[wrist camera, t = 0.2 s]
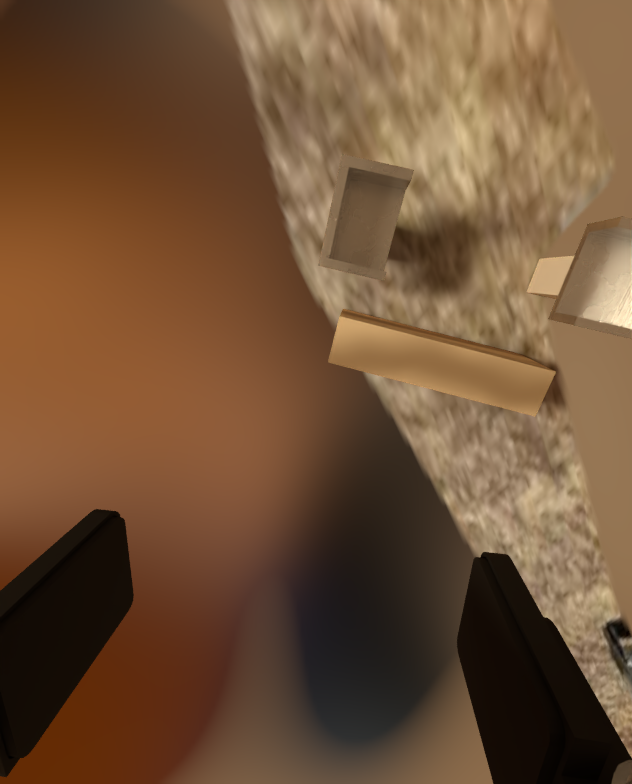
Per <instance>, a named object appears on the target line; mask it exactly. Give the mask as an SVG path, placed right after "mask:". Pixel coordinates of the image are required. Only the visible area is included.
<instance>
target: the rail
mask: <svg viewBox="0 0 632 784" xmlns="http://www.w3.org/2000/svg"><path fill="white" fill-rule="evenodd" d="M328 362H329V363H333V364H337V365H340V366H345V367H348V368H352V369H356V370H360V371H363V372H367V373H371V374H375V375H379V376H382V377H386V378H390V379H394V380H398V381H402V382H405V383H409V384H413V385H417V386H421V387H425V388H428V389H432V390H436V391H440V392H444V393H448V394H451V395H455V396H459V397H463V398H467V399H471V400H474V401H478V402H482V403H486V404H490V405H493V406H497V407H501V408H505V409H509V410H513V411H516V412H520V413H524V414H528V415H532V416H536V414H537V412H538V410H539V407H540V405H541V403H542V401H543V399H544V397H545V395H546V392H547V390H548V388H549V386H550V384H551V382H552V380H553V377H554V375H555V373H556V372H555V371H553V370H551V369H549V368H547V367H545V366H543V365H541V364H539V363H537V362H535V361H533V360H531V359H529V358H527V357H525V356H523V355H521V354H518V353H514V352H510V351H506V350H502V349H498V348H494V347H491V346H487V345H483V344H479V343H475V342H471V341H467V340H463V339H459V338H455V337H452V336H448V335H444V334H440V333H436V332H432V331H428V330H424V329H420V328H417V327H413V326H409V325H405V324H401V323H397V322H393V321H389V320H385V319H381V318H378V317H374V316H370V315H366V314H362V313H358V312H354V311H350V310H346V309H343V310H342V312H341V315H340V317H339V321H338V325H337V329H336V333H335V337H334V341H333V345H332V349H331V353H330V356H329V360H328Z"/></svg>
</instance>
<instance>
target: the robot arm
mask: <svg viewBox="0 0 632 784" xmlns="http://www.w3.org/2000/svg"><path fill="white" fill-rule="evenodd" d="M132 602H133V586H132V578H131V569H130V561H129V552H128V543H127V535H126V526H125V520H124V519H123V518H121V517H120V514H119V513H118V512H116V511H109V510H99V509H96V510H93V511H92V512H90V513H89V514H88V515H87V516H86V517H85V518H83V519H82V520H81V521H80V522H79V523H78V524H77V525H75V526H74V527H73V528H72V529H71V530H70V531H69V532H67V533H66V534H65V535H64V536H63V537H62V538H60V539H59V540H58V541H57V542H56V543H55V544H54V545H53V546H51V547H50V548H49V549H48V550H47V551H46V552H44V553H43V554H42V555H41V556H40V557H39V558H38V559H37V560H35V561H34V562H33V563H32V564H31V565H29V567H27V568H26V569H25V570H24V571H23V572H21V573H20V574H19V575H18V576H17V577H16V578H15V579H13V580H12V581H11V582H10V583H9V584H8V585H7V586H5V587H4V588H3V589H2V590H1V591H0V776H3V777H7V776H8V774H9V773H10V772H11V770H12V769H13V767H14V766H15V765H16V763H17V762H18V760H19V759H20V758H24V757H25V756H27V755H28V754H29V753H30V752H31V750H32V749H33V748H34V747H35V745H36V744H37V742H38V741H39V740H40V738H41V737H42V735H43V734H44V732H45V731H46V729H47V728H48V727H49V725H50V723H51V722H52V721H53V719H54V718H55V716H56V715H57V713H58V712H59V710H60V709H61V708H62V706H63V705H64V703H65V702H66V700H67V699H68V698H69V696H70V694H71V693H72V692H73V690H74V689H75V687H76V686H77V685H78V683H79V682H80V680H81V679H82V677H83V676H84V674H85V673H86V672H87V670H88V669H89V667H90V666H91V664H92V663H93V661H94V660H95V659H96V657H97V656H98V654H99V653H100V651H101V650H102V648H103V647H104V645H105V644H106V643H107V641H108V640H109V638H110V636H111V635H112V634H113V632H114V631H115V629H116V628H117V627H118V625H119V624H120V622H121V621H122V620H123V618H124V617H125V615H126V614H127V612H128V611H129V609H130V607H131V605H132ZM457 648H458V654H459V658H460V662H461V665H462V669H463V673H464V677H465V680H466V684H467V688H468V691H469V695H470V699H471V703H472V706H473V710H474V714H475V717H476V721H477V725H478V728H479V732H480V736H481V739H482V743H483V747H484V751H485V754H486V758H487V761H488V765H489V769H490V772H491V776H492V780H493V784H632V758H631V756H630V755H629V753H628V751H627V750H626V748H625V746H624V744H623V743H622V741H621V739H620V737H619V736H618V734H617V732H616V730H615V729H614V727H613V725H612V723H611V722H610V720H609V718H608V716H607V715H606V713H605V711H604V709H603V708H602V706H601V704H600V702H599V701H598V699H597V697H596V696H595V694H594V692H593V690H592V689H591V687H590V685H589V683H588V682H587V680H586V678H585V676H584V675H583V673H582V671H581V669H580V668H579V666H578V664H577V662H576V661H575V659H574V657H573V655H572V654H571V652H570V650H569V648H568V647H567V645H566V643H565V642H564V640H563V638H562V636H561V635H560V633H559V631H558V629H557V628H556V626H555V625H554V623H553V622H552V621H551V620H549V619H548V618H544V617H543V616H542V614H541V612H540V610H539V609H538V607H537V605H536V603H535V601H534V599H533V598H532V596H531V594H530V592H529V590H528V589H527V587H526V585H525V583H524V581H523V580H522V578H521V576H520V574H519V572H518V571H517V569H516V567H515V565H514V563H513V561H512V560H511V558H510V557H509V556H508V555H507V554H498V553H489V552H483V553H482V554H481V557H480V558H479V557H475V558H474V561H473V565H472V570H471V574H470V579H469V584H468V589H467V594H466V598H465V603H464V608H463V613H462V618H461V623H460V627H459V632H458V637H457Z"/></svg>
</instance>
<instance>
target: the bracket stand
mask: <svg viewBox="0 0 632 784" xmlns="http://www.w3.org/2000/svg"><path fill="white" fill-rule="evenodd" d="M413 171H414V170H412V169H407V168H403V167H398V166H394V165H389V164H385V163H380V162H376V161H371V160H367V159H362V158H358V157H353V156H349V155H344V154H342V157H341V162H340V166H339V171H338V176H337V180H336V185H335V190H334V195H333V199H332V204H331V209H330V213H329V218H328V223H327V228H326V232H325V237H324V242H323V246H322V251H321V256H320V261H319V265H318V266H322V267H327V268H331V269H335V270H339V271H344V272H348V273H352V274H357V275H361V276H365V277H369V278H374V279H378V280H382V281H384V279H385V275H386V272H385V271H384V269H385V265H386V261H387V258H388V254H389V250H390V246H391V243H392V239H393V235H394V231H395V228H396V224H397V220H398V216H399V213H400V209H401V205H402V201H403V198H404V194H405V190H406V189H407V187H408V185H409V183H410V181H411V179H412V175H413ZM527 292H528V293H532V294H536V295H541V296H545V297H549V298H554V299H556V301H555V304H554V306H553V308H552V311H551V313H550V316H549V318H548V319H549V320H553V321H557V322H562V323H566V324H570V325H574V326H579V327H583V328H587V329H591V330H596V331H600V332H604V333H609V334H613V335H617V336H622V337H626V338H630V339H632V219H631V218H627V217H623V216H622V217H617V218H613V219H608V220H604V221H599V222H594V223H590V224H588V225H587V227H586V229H585V232H584V234H583V237H582V239H581V242H580V244H579V246H578V249H577V251H576V253H575V256H566V257H555V258H544V259H539V262H538V264H537V267H536V269H535V272H534V275H533V277H532V280H531V282H530V285H529V287H528V290H527Z"/></svg>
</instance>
